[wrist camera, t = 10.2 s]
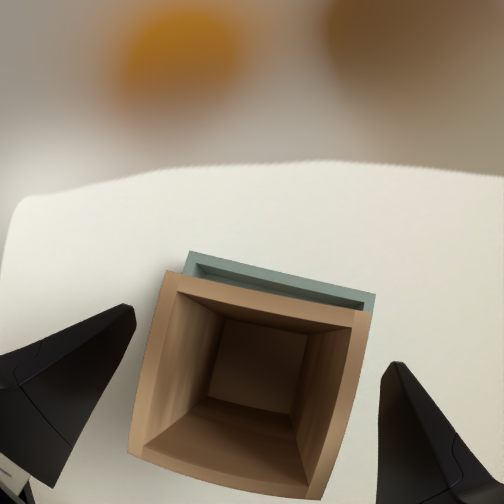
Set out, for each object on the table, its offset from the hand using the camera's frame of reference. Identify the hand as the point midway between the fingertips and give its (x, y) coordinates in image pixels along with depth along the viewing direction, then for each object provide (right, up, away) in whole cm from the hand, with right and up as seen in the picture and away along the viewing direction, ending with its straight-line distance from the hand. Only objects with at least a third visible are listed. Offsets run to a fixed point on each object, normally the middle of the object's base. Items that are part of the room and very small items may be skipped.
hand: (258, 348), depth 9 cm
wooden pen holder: (0, -4, +8) cm, 9 cm away
